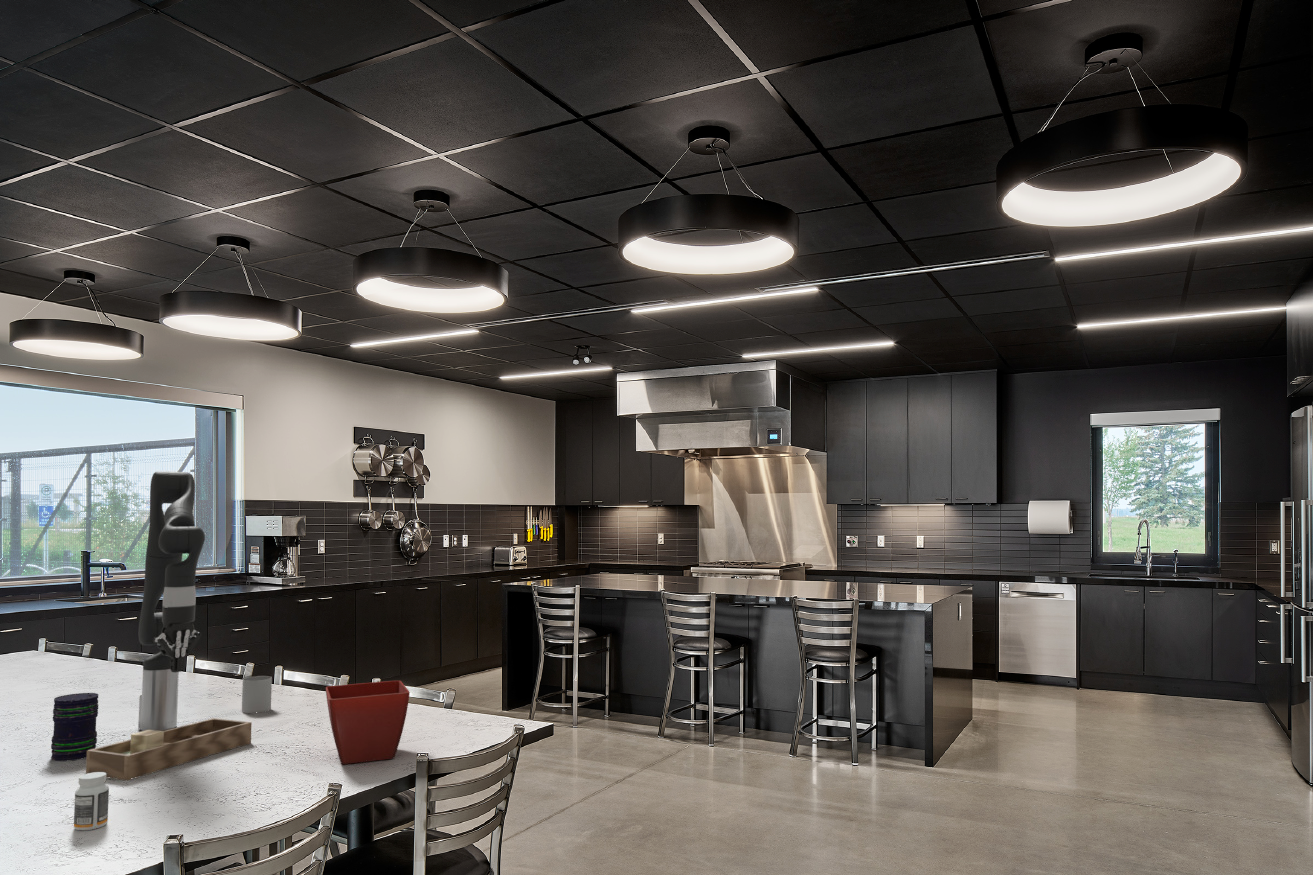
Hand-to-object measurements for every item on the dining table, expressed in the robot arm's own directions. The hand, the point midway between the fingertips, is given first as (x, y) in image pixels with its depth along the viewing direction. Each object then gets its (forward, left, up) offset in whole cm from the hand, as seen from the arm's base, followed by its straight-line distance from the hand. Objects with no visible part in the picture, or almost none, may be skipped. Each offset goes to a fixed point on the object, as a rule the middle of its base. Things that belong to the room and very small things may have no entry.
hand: (176, 671), depth 228 cm
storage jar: (-25, -9, -22) cm, 34 cm away
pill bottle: (+30, -43, -22) cm, 56 cm away
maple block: (+1, -8, -18) cm, 20 cm away
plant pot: (+46, +18, -22) cm, 54 cm away
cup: (-23, +48, -22) cm, 58 cm away
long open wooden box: (+1, -1, -21) cm, 21 cm away
